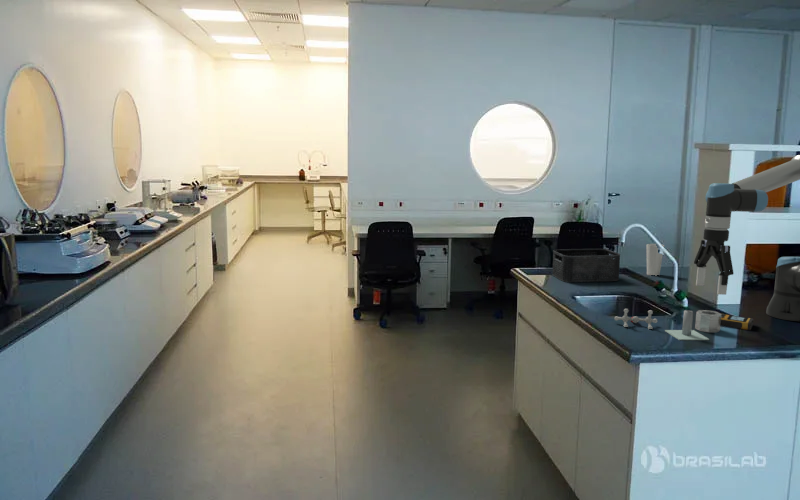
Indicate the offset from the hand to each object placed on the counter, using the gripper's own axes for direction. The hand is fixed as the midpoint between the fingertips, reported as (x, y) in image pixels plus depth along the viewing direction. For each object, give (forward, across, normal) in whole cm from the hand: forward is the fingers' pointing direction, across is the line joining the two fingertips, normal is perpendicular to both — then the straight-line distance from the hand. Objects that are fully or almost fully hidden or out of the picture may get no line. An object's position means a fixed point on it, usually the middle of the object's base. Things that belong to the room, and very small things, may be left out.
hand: (710, 289), depth 202 cm
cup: (+14, -95, +24) cm, 99 cm away
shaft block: (+14, +7, -11) cm, 19 cm away
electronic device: (+15, -7, +11) cm, 20 cm away
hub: (+14, 0, 0) cm, 14 cm away
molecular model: (+15, -5, -23) cm, 28 cm away
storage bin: (+15, -87, -14) cm, 89 cm away
